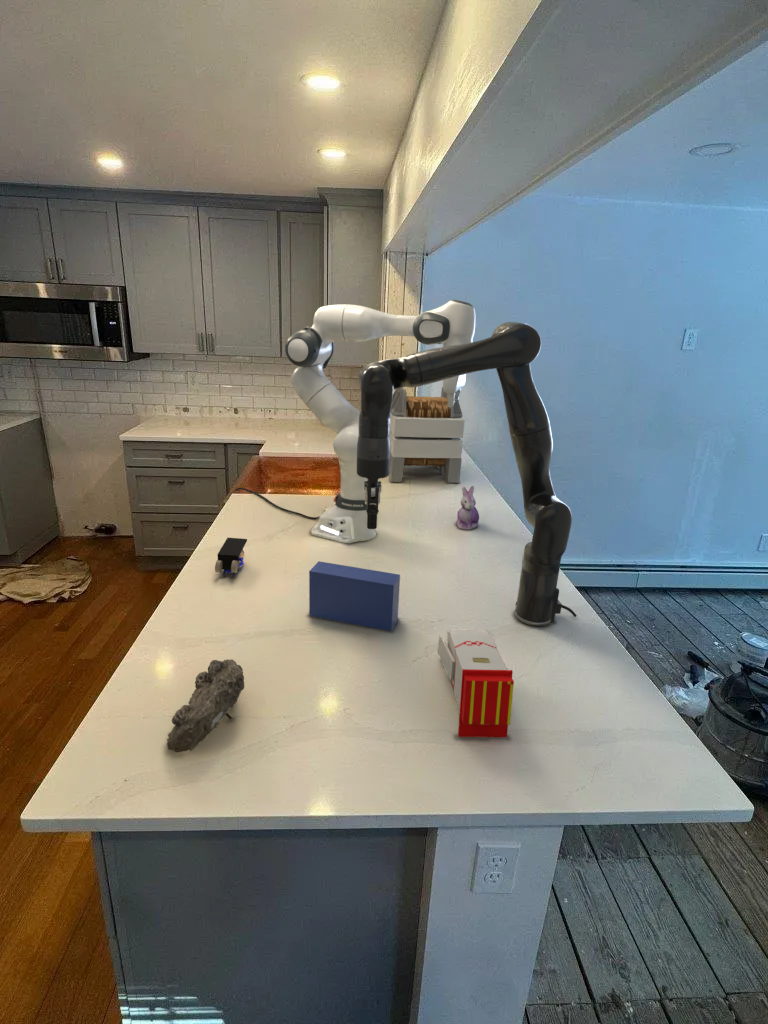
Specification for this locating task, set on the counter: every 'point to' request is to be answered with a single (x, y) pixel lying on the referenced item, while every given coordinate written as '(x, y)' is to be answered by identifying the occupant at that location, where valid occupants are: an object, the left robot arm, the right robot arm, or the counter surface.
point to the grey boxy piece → (425, 435)
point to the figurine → (468, 510)
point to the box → (354, 595)
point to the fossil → (206, 705)
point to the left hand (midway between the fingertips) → (453, 404)
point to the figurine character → (230, 556)
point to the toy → (478, 682)
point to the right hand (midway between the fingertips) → (371, 521)
